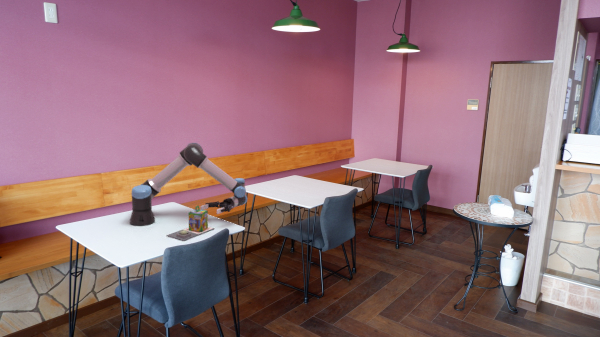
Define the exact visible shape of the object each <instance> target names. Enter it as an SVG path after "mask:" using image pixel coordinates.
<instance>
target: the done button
mask: <svg viewBox="0 0 600 337" xmlns="http://www.w3.org/2000/svg"><path fill="white" fill-rule="evenodd" d="M180 230H181V231H180ZM180 230H179V231H180V234H181V235H186V234H187V230H183V229H180Z"/></svg>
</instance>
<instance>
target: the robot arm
mask: <svg viewBox="0 0 600 337" xmlns="http://www.w3.org/2000/svg"><path fill="white" fill-rule="evenodd" d="M188 166H190V167H191V166H194V167H195V168H198V169H201V170H202V171H204V172H205V173H206V174H208V175H209V176H210V177H212V178H213V179H215V181H217V182H218V183H220V184H221V185H222V186H224V187H225V188H226V189H228V190H229V191H230V192H232V193H233V196H230V197H227V198H224V199H223V201H219V200H218V201H212V202H205V203H204V204H203V205H201V206H200V210H207V209H209V208H217V209H216V214H217V215H220V214H222V213H224V212H225V213H226V212H227V213H229V212H231V210H233V209H234V208H236V207H237V208H238V207H240V206H243V205H245V204H246V203H247V202H248V196H247V195H246V192H247V190H246V186H245V185H246V183H245V182H246V181H245V178H242V177H240V178H239V177H238V178H237V177H236V178H234V177H232V176H231V175H229V174H228V173H226V172H225V171H224V170H223V169H221V168H220V167H219V166H217V165H216V164H215V163H213V162H212V161H211V160H210V159H208V156H207V155H206V154H204V149H203V147H202V145H201V144H200V143H197V142H191V143H188V144H187V145H186V146H185V148H183V149H182V150H181V151H179V153H178V156H177V157H176V158H175V159H173V160H172V161H171V162H170V163H169V164H168V165H166V166H165V167H164V168H163V169H162V170H161V171H159V172H158V173H157V174H156V175H155V176H154V177H152V178H147V180H145V181H144V182H142V183H141V184H139V185H135V186H133V188H132V189H131V208H132V212H131V214H130V219H129V224H130V225H131V226H137V227H138V226H140V227H142V226H149V225H152V224H154V223H155V221H156V219H155V215H154V212H153V210H152V208H153V206H152V200H153V199H154V198H155V197H156V196H157V195H159V193H161V190H162V188H163V187H164V186H165V185H166V184H168V183H169V182H171V180H173V179H174V178H175V177H176V176H178V174H179V173H181V172H182V171H183V170H184V169H185V168H186V167H188Z"/></svg>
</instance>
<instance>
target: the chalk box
mask: <svg viewBox="0 0 600 337" xmlns="http://www.w3.org/2000/svg"><path fill="white" fill-rule="evenodd" d="M208 211H209V210H207V209H204V210H201V208H200V206H199V204H198V205H196V206H195V208H194V209H192V210H190V211H189V212H188V227H189V231H200V232H202V231H204V230H205V229H207V228H208V227H209V212H208Z"/></svg>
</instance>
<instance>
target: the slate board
mask: <svg viewBox="0 0 600 337" xmlns="http://www.w3.org/2000/svg"><path fill="white" fill-rule="evenodd" d="M181 230H187V234H186V235H181V234H180V231H181ZM214 230H215V228H214V227H212V226H208V228H207V229H205V230H204V231H202V232H200V231H189V226H188V227H186V228H183V229H180V230H177V231H175V232H172V233H169V234H166V237H167V236H168V238H172V239H174V238H175V240H178V241H181V242H185V241H188V240H191V239H193V238H196V237H198V236H201V235H202V234H206V233H208V232H211V231H214Z"/></svg>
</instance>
